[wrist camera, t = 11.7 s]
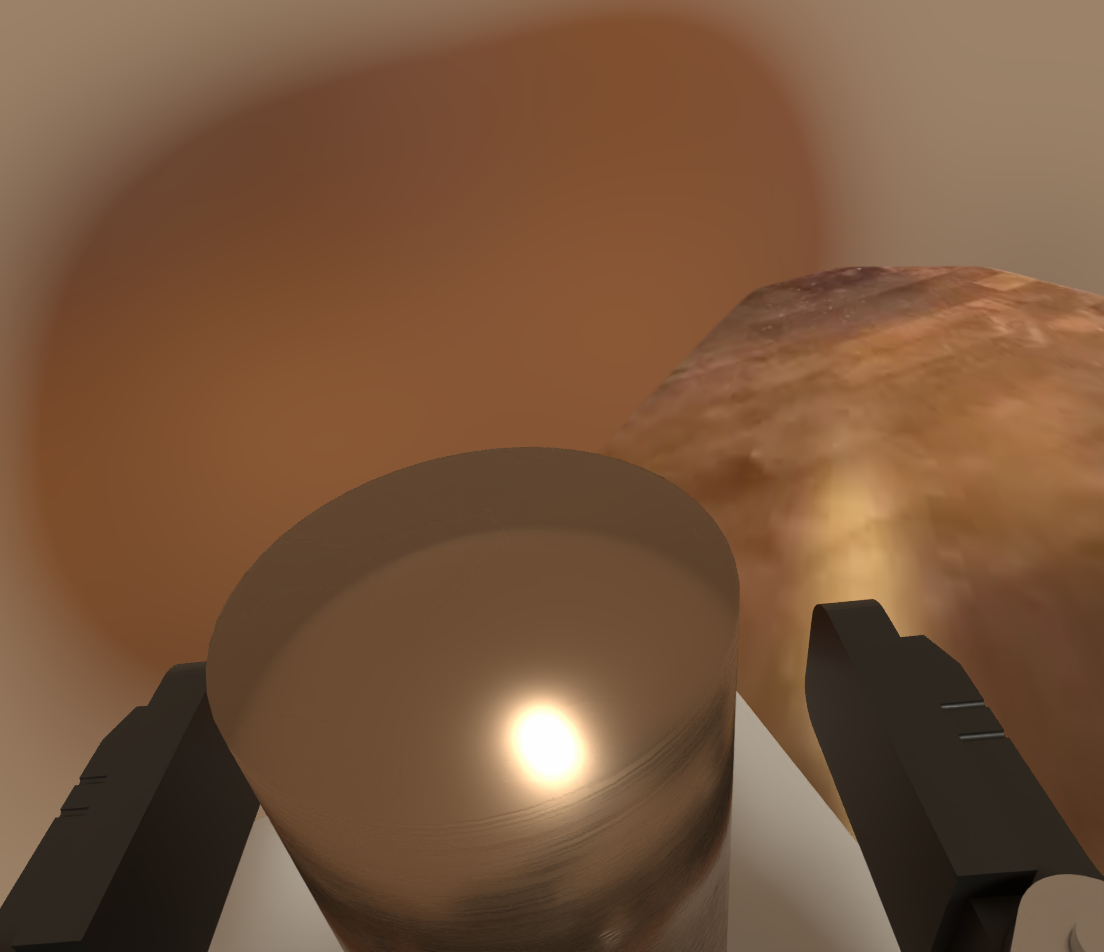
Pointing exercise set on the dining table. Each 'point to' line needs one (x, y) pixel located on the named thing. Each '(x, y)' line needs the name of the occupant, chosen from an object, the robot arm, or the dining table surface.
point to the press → (754, 884)
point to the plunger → (495, 706)
